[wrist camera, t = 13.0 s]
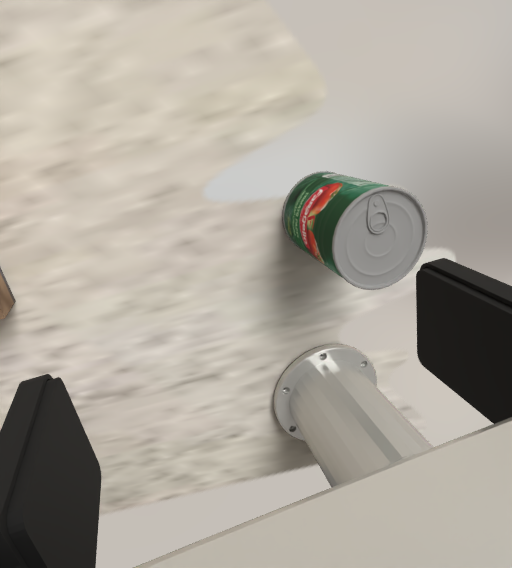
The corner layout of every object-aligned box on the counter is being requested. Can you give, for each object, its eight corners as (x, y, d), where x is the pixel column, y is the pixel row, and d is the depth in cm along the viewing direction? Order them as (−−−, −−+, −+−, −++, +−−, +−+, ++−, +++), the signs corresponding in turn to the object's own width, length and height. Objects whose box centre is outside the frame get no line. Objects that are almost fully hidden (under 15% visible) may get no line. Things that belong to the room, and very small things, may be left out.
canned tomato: (361, 237, 43) (431, 271, 33) (291, 261, 42) (342, 304, 32) (350, 160, 40) (424, 172, 30) (274, 184, 38) (325, 205, 29)
